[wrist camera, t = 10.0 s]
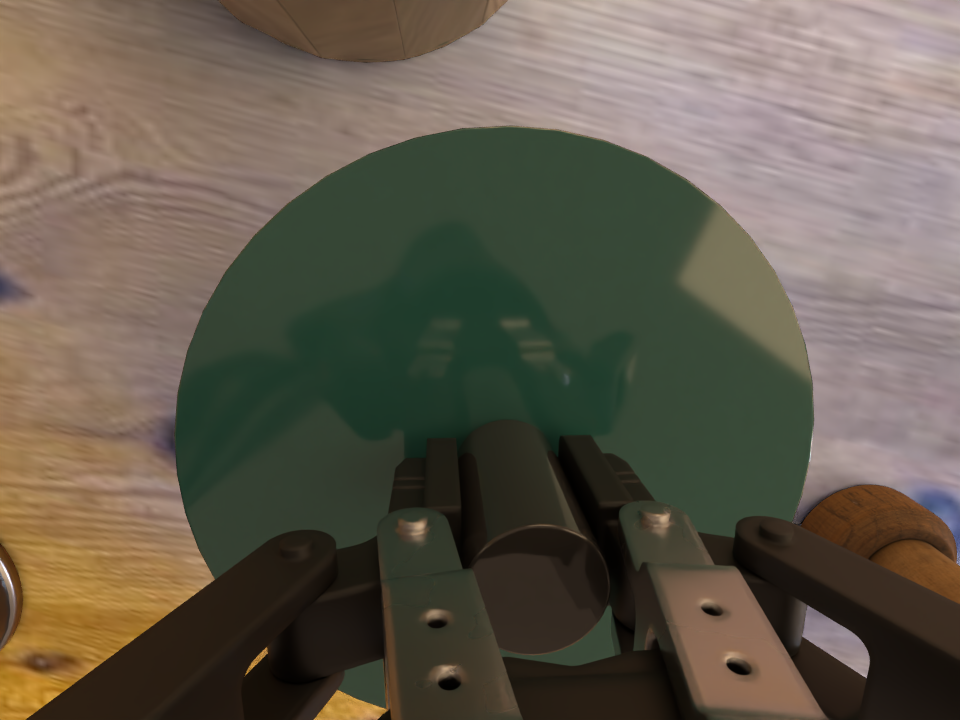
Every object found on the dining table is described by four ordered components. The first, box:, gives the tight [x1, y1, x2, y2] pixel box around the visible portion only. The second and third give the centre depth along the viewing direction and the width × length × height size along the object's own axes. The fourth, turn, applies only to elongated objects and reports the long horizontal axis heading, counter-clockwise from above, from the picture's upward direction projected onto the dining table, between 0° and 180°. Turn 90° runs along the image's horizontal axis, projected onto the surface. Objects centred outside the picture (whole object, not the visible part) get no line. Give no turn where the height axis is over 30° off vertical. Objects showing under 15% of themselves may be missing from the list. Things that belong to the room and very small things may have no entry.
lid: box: [174, 126, 814, 709], centre depth 13 cm, size 16×16×6 cm
